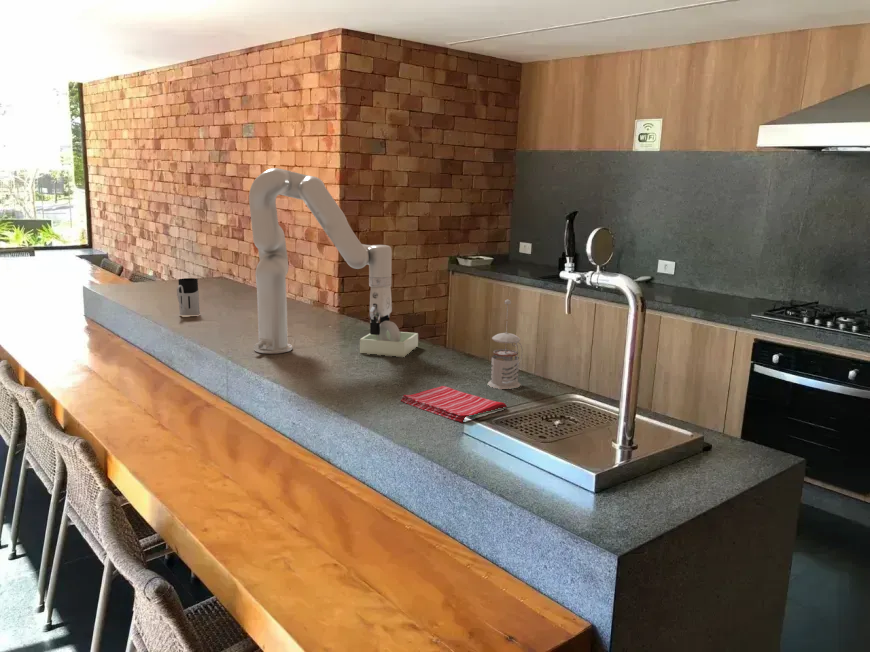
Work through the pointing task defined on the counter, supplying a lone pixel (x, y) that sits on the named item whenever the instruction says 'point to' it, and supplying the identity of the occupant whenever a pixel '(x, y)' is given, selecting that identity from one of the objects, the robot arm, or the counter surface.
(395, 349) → the bin
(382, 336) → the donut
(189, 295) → the glass holder
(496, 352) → the french press
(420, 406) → the dish towel
